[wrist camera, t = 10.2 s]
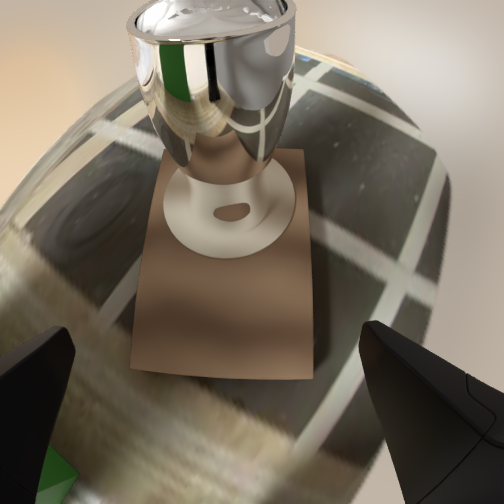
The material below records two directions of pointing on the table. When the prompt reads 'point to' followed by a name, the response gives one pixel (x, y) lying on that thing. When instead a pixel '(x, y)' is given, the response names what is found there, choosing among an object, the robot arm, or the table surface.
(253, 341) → the walnut base
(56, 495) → the hardback book
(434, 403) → the robot arm
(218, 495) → the table surface
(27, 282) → the table surface
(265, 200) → the metal tumbler
